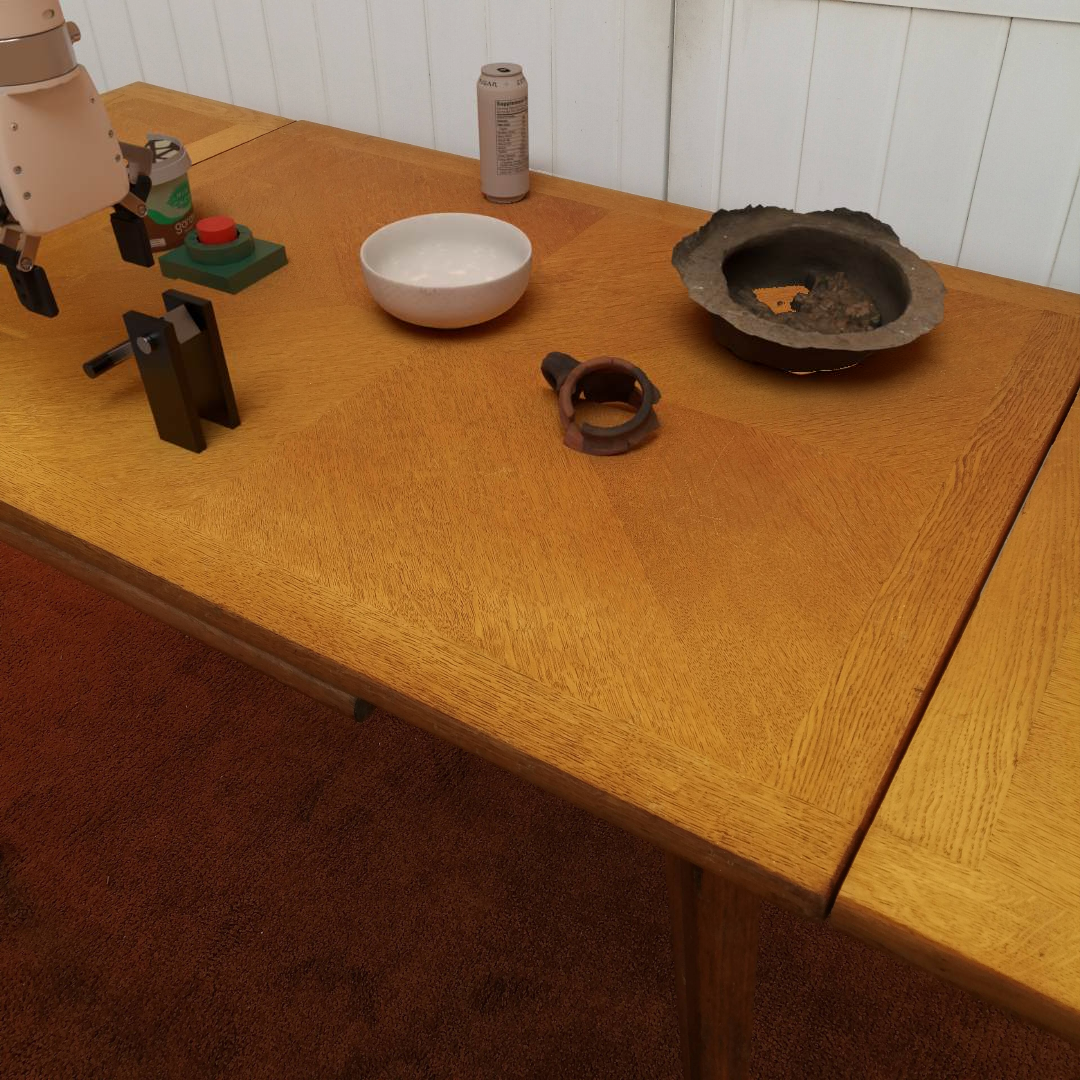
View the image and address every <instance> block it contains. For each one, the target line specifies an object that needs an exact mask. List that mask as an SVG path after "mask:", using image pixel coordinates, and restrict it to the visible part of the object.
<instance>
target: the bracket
mask: <svg viewBox="0 0 1080 1080" xmlns="http://www.w3.org/2000/svg"><path fill="white" fill-rule="evenodd" d="M161 297H162V301H163V305H164V308H165V313H167V312H169V311H171V310H173V309H175V308H177V307H179V306H181V305H184V306H185V308H186V309H187V311H188V312H189V314H190V315H191V317H192V319H193V320H194V322H195V323H196V325H197V326H198V328H199V330H200V331H201V333H199V334H197V335H196V336H194V337H192V338H190V339H189V340H187V341H185V342H184V343H182V344H180V345H179V343H178V339H177V335H176V332H175V328H174V324H173V323H172V322H169V321H166V320H162V319H159V318H158V317H156V316H153V315H150V314H146V313H144V312H141V311H137V310H134V309H130V310H127V311H126V312H124V313H122V315H121V317H122V319H123V322H124V323H123V324H124V325H125V329H126V333H127V336H128V338H129V339H130V342H131V346H132V349H133V352H134V356H133V357H134V359H135V363H136V366H137V368H138V369H137V370H138V372H139V375H140V378H141V381H142V385H143V388H144V391H145V394H146V399H147V401H148V404H149V408H150V410H151V413H152V417H153V421H154V423H155V427H156V431H157V433H158V437H159V439H160V440H161V441H163V442H165V443H169V444H171V445H174V446H176V447H178V448H179V447H180V448H182V449H184V450H187V451H189V452H192V453H194V454H198V455H200V454H201V453H203V452H204V451H205V450H207V449H208V446H207V442H206V439H205V435H204V432H203V431H204V430H203V428H202V424H201V420H200V419H202V420H205V421H208V422H210V423H213V424H216V425H219V426H222V427H224V428H226V429H230V430H232V431H234V430H235V429H237V428H239V426H241V425H242V422H241V418H240V413H239V409H238V405H237V401H236V398H235V393H234V389H233V385H232V381H231V380H232V379H231V377H230V372H229V368H228V364H227V360H226V355H225V352H224V348H223V343H222V340H221V334H220V331H219V327H218V323H217V322H218V321H217V318H216V315H215V311H214V306H213V305H214V304H213V302H212V300H210V299H206V298H202V297H200V296H197V295H193V294H190V293H187V292H183V291H180V290H177V289H174V288H168V289H166V290H165V291H163V292H162V293H161Z"/></svg>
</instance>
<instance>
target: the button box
mask: <svg viewBox="0 0 1080 1080" xmlns="http://www.w3.org/2000/svg"><path fill="white" fill-rule="evenodd" d="M235 226H236V230H237V235H238V238H237V239H236V240H234V241H232V242H229V243H224V244H220V245H206V244H202V243H200V240H199V236H198V232H197V228H196V229H195V230H193V231H191V232H189V233H188V234H187V236H186V237H185V239H184V242H185V244H184V245H182V246H180V247H178V248H175V249H171V250H169V251H167V252H166V253H164V254H163V255H161V256H158V257H157V260H158V264H159V267H160V271H161V275H162V277H164V278H168V279H171V280H174V281H176V280H178V279H179V280H181V281H185V282H189V283H192V284H196V285H198V286H202V287H205V288H208V289H212V290H214V291H215V290H216V291H219V292H222V293H225V294H229V295H233V296H235V295H236V294H238V293H240V292H242V291H244V290H246V289H247V288H248V287H249V288H250V287H251V286H252V285H254V284H256V283H257V282H259V281H261V280H263V279H264V278H266V277H268V276H269V275H271V274H273V273H275V272H276V271H279V270H280V269H282V268H283V267H285V266H287V265H288V263H289V262H288V256H287V252H286V246H285V245H283V244H280V243H276V242H272V241H268V240H265V239H261V238H257V237H254V235H253V232H252V230H251V229H250V228H249V227H248V226H247V225H243V224H239V223H236V222H235Z"/></svg>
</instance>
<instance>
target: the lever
mask: <svg viewBox="0 0 1080 1080" xmlns="http://www.w3.org/2000/svg"><path fill="white" fill-rule="evenodd" d="M157 318H159V319H162V320H166V321H169V322H172V323H173V324H174V328H175V332H176V335H177V339H178V343H179V345H180V344H182V343H184V342H185V341H187V340H189V339H190V338H192V337H194V336H196V335H197V334H199V333H201V331H200V330H199V328H198V326H197V325H196V323H195V322H194V320H193V319H192V317H191V315H190V314H189V312H188V311H187V309H186V308H185V306H184V305H181V306H179V307H177V308H175V309H173V310H171V311H169V312H165V313H163V314H162V315H160V316H158V317H157ZM133 357H135V356H134V352H133V349H132V346H131V342H130V339H129V337H128V338H126V339H124V340H122V341H121V342H119V343H117V344H116V345H114V346H112V347H110V348H108V349H107V350H105V351H103V352H101V353H99V354H98V355H96V356H94V357H93V358H91V359H89V360H87V361H85V362H83V364H82V370H83V372H84V374H85V375H86V376H87V377H88V378H89V379H92V380H95V379H97V378H99V377H100V376H102V375H104V374H106V373H107V372H109V371H111V370H112V369H114V368H116V367H117V366H119V365H122V363H125V362H126V361H128V360H130V359H131V358H133Z"/></svg>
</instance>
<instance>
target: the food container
mask: <svg viewBox="0 0 1080 1080" xmlns="http://www.w3.org/2000/svg"><path fill="white" fill-rule="evenodd" d="M145 136H146V141H147V142H146V144H145V145H144V147H146V148H149V149H151V150H152V153H153V160H152V170H151V175H150V179H151V181H152V187H151V190H150V192H149V195H148V198H147V201H146V205H147V207H148V212H147V215H146V216H145V217H143V220H144V223H145V227H146V230H147V234H148V237H149V241H150V244H151V251H152V254H155V253H163V252H169V251H172V250H174V249H176V248H178V247H180V246H182V245H184V244H185V242H184V239H185V237H186V236H187V234H188V233H189V232H191V231H193V230H195V229H197V228H196V224H197V222H196V217H195V216H196V215H195V210H194V204H193V199H192V193H191V192H192V191H191V186H190V180H189V173H188V171H190V169H191V168H192V164H193V162H192V160H191V157H190V155H189V153H188V151H187V149H186V147H185V146H184V145H183V143H182V141H181V140H180V139H179V138H177V137H175V136H172V135H168V134H163V133H153V132H152V133H151V132H149V133H148V132H146V133H145ZM126 169H127V174H129V173H130V170H129V163H128V162H127V164H126Z"/></svg>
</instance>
